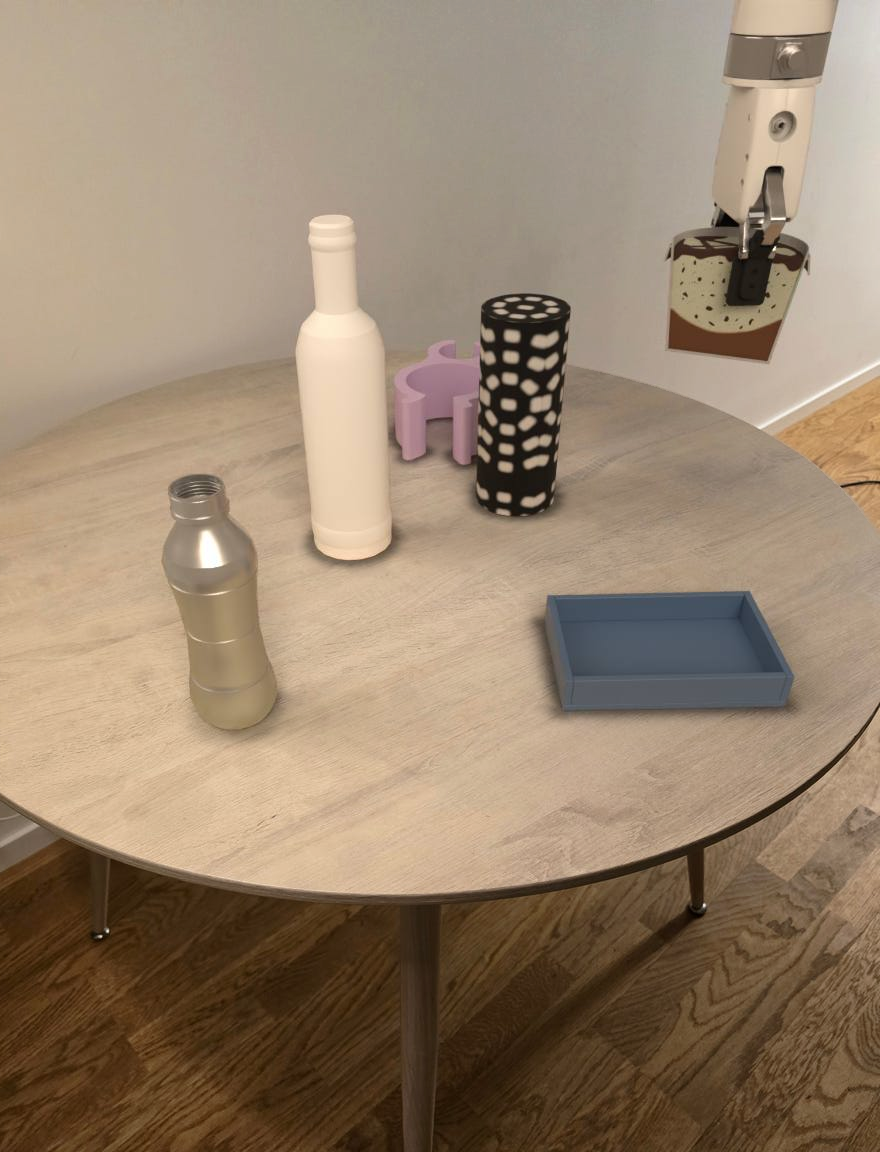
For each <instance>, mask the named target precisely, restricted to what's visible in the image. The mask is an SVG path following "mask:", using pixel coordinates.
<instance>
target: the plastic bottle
mask: <svg viewBox="0 0 880 1152" xmlns="http://www.w3.org/2000/svg"><path fill="white" fill-rule="evenodd" d="M167 495H168V500H169V504H170V506H169V511H170V515H171V518H172V519H173V520H174V523H173V525H172V527H171V529H170V530H169V532H168V534H167V537H166V538H165V541H164V544H163V546H162V553H161V554H162V555H161V564H162V568H163V572H164V574H165V577H166V580H167V583H168V585H169V587H170V590H171V592H172V595H173V598H174V600H175V603H176V605H177V608H178V611H179V614H180V617H181V621H182V624H183V628H184V633H185V635H186V643H187V651H188V660H189V661H188V663H189V677H188V680H189V681H188V685H189V687H188V688H189V696H190V700H191V702H192V704H193V706H194V708H195V710H196V712H197V714H198V716H199V717H200V718H201V719H202V720H204V721H206V722H207V723H209V724H210V725H212V726H213V727H216V728H219V729H221V730H233V731H234V730H242V729H246V728H249V727H252V726H255V725H256V724H258V723H260V722H261V721H262V720H264V719H265V718H266V717H267V715H269V713H270V712H271V710H272V709H273V708H274V705H275V702H276V699H277V688H278V686H277V685H278V683H277V678H276V675H275V672H274V669H273V666H272V663H271V660H270V658H269V656H268V653H267V649H266V645H265V642H264V638H263V635H262V630H261V625H260V624H261V623H260V615H259V602H258V601H259V600H258V578H259V577H258V576H259V575H258V574H259V573H258V572H259V557H258V556H259V555H258V547H257V545H256V542H255V541H254V539H253V537H252V535H251V533H249V531H248V530H247V529H246V527H244V526H243V525H242V524H241V523H240V521H238V520H236V519H235V518H234V517H233V516H232V515H230V511H231V503H230V499H229V497H228V495H227V489H226V485H225V482H224V480H223V479H222V478H221V477H219V476H218V475H214V474H210V473H192V474H187V475H183V476H180V477H178V478H176V479H175V480H172V482H170V483H169V484H168V487H167Z"/></svg>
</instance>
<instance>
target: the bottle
mask: <svg viewBox="0 0 880 1152" xmlns="http://www.w3.org/2000/svg"><path fill="white" fill-rule="evenodd" d="M308 231H309V233H308V237H307V243H308V245H309V247H310V254H311V267H312V268H311V269H312V281H313V288H314V289H313V290H314V303H315V308H314V310H313V311H312V312H311V313H310V314H309V315H308V317H306V319H305V320H304V321H303V322H302V324H301V326H300V329H299V333H298V336H297V341H296V342H297V343H296V346H295V352H294V353H295V363H296V373H297V382H298V393H299V402H300V403H299V405H300V412H301V413H300V414H301V422H302V434H303V440H304V441H303V442H304V452H305V453H304V454H305V461H306V463H305V464H306V472H307V483H308V492H309V501H310V511H311V515H310V523H311V530H312V533H313V541H314V545H315V547H316V549H317V550H318V551H320V552H321V553H322V554H323V555H325V556H328V557H330V558H333V559H336V560H344V561H360V560H365V559H369V558H372V557H375V556H376V555H379V554H380V553H382V552H383V551H385V550H386V549H387V548H388V547H389V545H390V544H391V542H392V536H393V535H392V533H393V532H392V527H393V512H392V510H393V509H392V506H391V484H390V483H391V480H390V456H389V455H390V454H389V428H388V427H389V425H388V402H387V400H388V399H387V374H386V350H385V349H386V348H385V347H386V346H385V344H384V340H383V338H382V335H381V332H380V329H379V327H378V325H377V322H376V321H375V320H374V319H373V318H372V316H370V315H369V314H368V313H367V312H366V311H365V310H364V309H363V308H361V307H360V305H359V291H358V287H359V286H358V273H357V272H358V269H357V255H356V254H357V253H356V252H357V251H356V244H357V242H358V237H357V236H358V235H357V233H356V231H355V221H354V220H353V219H352V218H351V217H350V216H347V215H345V214H323V215H319V216H315V217H314V218H312V219H311V220H310V221H309V223H308Z"/></svg>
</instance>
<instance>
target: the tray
mask: <svg viewBox="0 0 880 1152" xmlns="http://www.w3.org/2000/svg"><path fill="white" fill-rule="evenodd" d="M545 604H546V605H545V616H544V627H545V632H546V638H547V642H548V647H549V651H550V657H551V662H552V666H553V671H554V676H555V680H556V685H557V691H558V694H559V700H560V705H561V710H562V712H569V711H570V712H571V711H572V712H573V711H575V712H576V711H622V710H623V711H627V710H675V709H676V710H678V709H680V710H681V709H727V708H728V709H729V708H731V709H732V708H733V709H734V708H736V709H737V708H774V707H775V708H783V707H786V704H787V702H788V699H789V696H790V693H791V689H792V686H793V683H794V680H795V678H796V677H795V674H794V673H793V671H792V668H791V667H790V665H789V662H788V661H787V659H786V657H785V655H784V653H783V652H782V650H781V648H780V646H779V644H778V642H777V641H776V638H775V636H774V635H773V632H772V631H771V629H770V627H769V624H768V623H767V621H766V619H765V617H764V615H763V614H762V611H761V610H760V608H759V606H758V604H757V602H756V600H755V598H754V597H753V594H752V592H751V591H750V590H731V591H729V590H727V591H687V592H686V591H685V592H683V591H678V592H639V593H638V592H636V593H635V592H634V593H631V592H630V593H591V594H589V593H588V594H587V593H586V594H583V593H581V594H547V596H546V603H545Z"/></svg>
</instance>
